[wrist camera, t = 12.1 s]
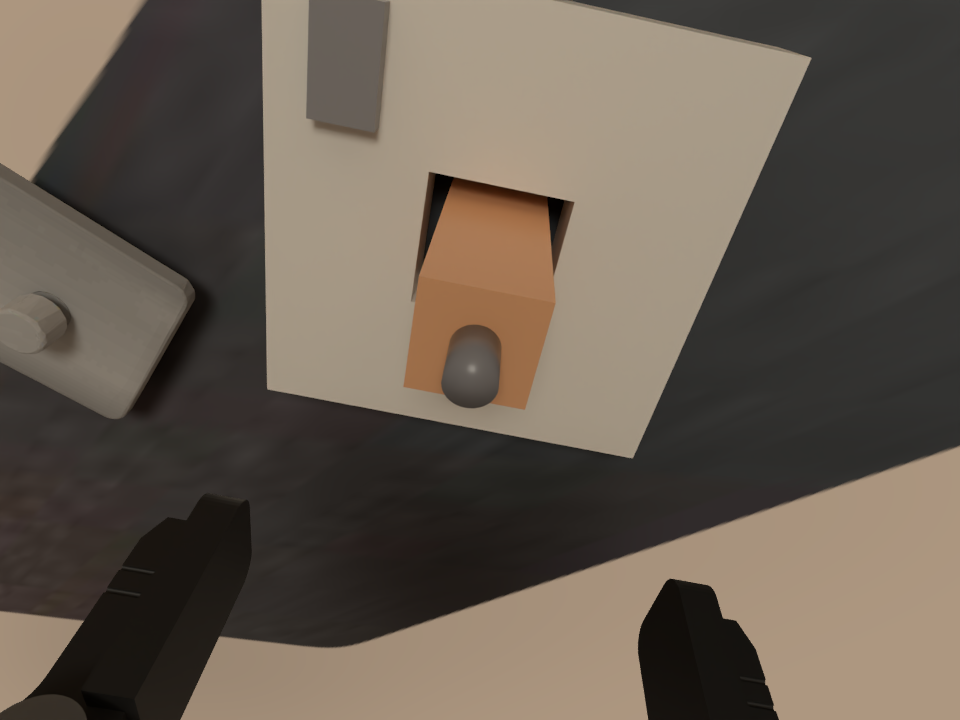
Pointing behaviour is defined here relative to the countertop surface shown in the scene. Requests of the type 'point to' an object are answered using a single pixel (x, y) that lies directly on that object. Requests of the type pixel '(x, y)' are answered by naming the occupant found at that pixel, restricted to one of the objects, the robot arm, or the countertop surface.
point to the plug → (483, 297)
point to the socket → (511, 164)
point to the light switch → (81, 301)
